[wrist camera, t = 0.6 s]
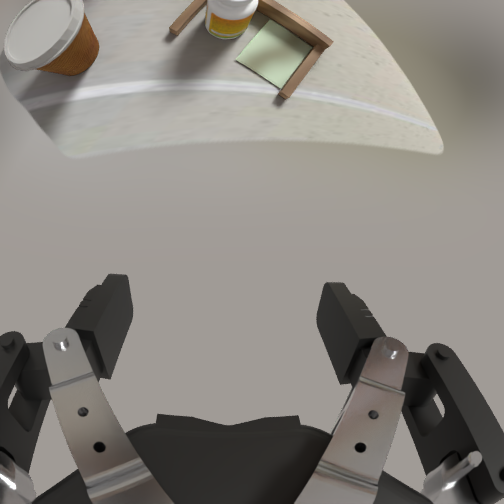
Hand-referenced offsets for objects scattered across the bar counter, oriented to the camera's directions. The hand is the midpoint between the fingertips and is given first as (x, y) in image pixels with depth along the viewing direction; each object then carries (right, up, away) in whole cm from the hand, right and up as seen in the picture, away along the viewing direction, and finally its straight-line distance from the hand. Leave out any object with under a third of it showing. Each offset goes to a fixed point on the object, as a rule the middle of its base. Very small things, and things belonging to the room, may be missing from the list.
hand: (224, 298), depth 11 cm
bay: (+1, +29, +17) cm, 33 cm away
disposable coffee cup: (-21, +27, +13) cm, 37 cm away
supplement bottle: (-2, +30, +16) cm, 34 cm away
